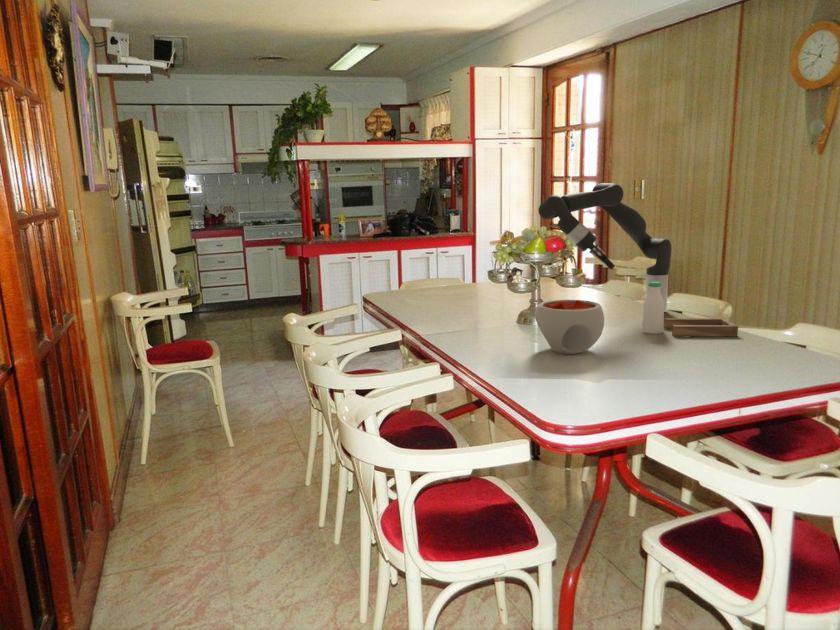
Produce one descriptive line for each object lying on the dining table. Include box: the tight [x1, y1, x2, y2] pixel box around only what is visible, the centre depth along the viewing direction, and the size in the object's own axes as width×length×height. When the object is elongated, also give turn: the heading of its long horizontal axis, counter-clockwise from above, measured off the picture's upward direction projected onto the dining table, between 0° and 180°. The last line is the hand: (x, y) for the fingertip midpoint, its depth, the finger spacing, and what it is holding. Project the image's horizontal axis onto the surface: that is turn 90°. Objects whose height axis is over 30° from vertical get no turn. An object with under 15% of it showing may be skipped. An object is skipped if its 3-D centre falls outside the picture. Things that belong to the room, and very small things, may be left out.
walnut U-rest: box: [663, 317, 739, 338], centre depth 245 cm, size 15×23×4 cm, turn 82°
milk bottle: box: [641, 282, 665, 335], centre depth 246 cm, size 8×8×20 cm
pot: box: [534, 299, 605, 355], centre depth 222 cm, size 24×24×18 cm
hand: (612, 267), depth 245 cm, fingers closed
